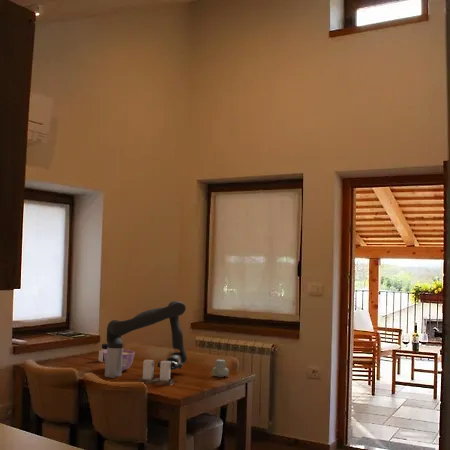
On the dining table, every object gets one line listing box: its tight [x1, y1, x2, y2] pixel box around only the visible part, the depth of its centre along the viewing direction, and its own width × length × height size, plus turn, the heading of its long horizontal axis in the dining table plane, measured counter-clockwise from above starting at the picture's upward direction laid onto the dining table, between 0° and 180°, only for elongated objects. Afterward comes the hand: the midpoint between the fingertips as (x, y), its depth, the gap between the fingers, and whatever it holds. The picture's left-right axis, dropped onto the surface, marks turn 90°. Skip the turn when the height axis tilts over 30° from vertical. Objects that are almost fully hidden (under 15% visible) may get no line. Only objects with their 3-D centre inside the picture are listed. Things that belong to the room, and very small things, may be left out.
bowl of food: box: [103, 349, 136, 372], centre depth 350 cm, size 20×20×12 cm
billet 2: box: [159, 360, 172, 382], centre depth 315 cm, size 5×5×12 cm
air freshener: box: [211, 359, 230, 378], centre depth 346 cm, size 11×8×10 cm
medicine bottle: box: [98, 343, 108, 363], centre depth 378 cm, size 7×7×12 cm
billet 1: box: [142, 359, 155, 381], centre depth 316 cm, size 5×5×12 cm
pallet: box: [138, 376, 176, 386], centre depth 315 cm, size 20×11×3 cm, turn 84°
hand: (167, 367), depth 321 cm, fingers open, 8 cm apart
